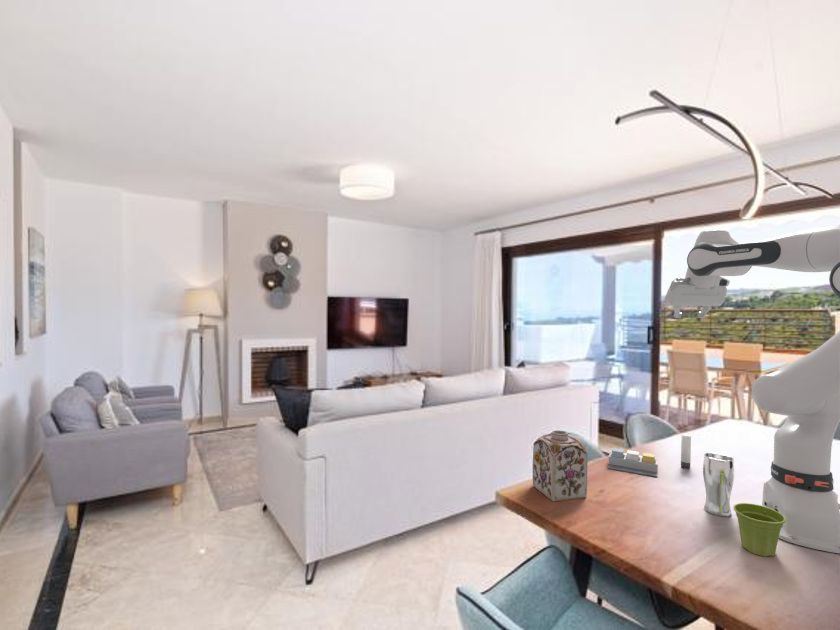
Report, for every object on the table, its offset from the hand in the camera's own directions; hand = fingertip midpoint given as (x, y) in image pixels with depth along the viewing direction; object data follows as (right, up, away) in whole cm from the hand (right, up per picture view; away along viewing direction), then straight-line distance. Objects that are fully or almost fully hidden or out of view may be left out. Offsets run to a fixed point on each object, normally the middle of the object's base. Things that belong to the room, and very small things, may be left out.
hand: (688, 317), depth 148 cm
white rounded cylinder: (0, -52, +2) cm, 52 cm away
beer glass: (-11, -53, -30) cm, 62 cm away
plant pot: (-15, -53, -49) cm, 74 cm away
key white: (-18, -50, +2) cm, 53 cm away
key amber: (-14, -50, 0) cm, 52 cm away
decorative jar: (-50, -52, -19) cm, 75 cm away
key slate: (-22, -50, +5) cm, 55 cm away
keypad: (-18, -52, +2) cm, 55 cm away
